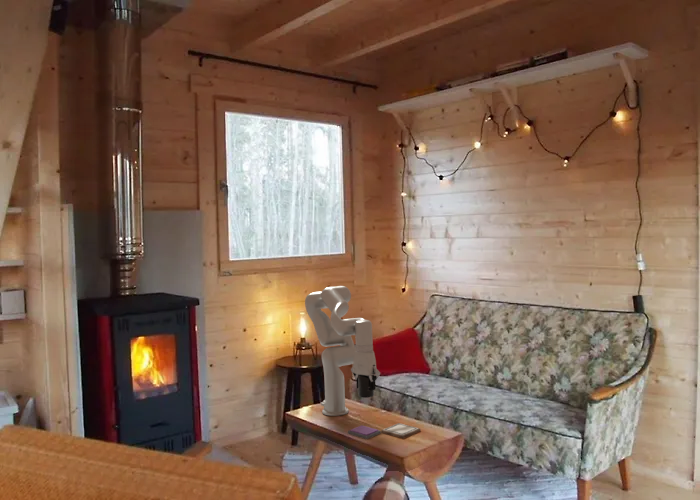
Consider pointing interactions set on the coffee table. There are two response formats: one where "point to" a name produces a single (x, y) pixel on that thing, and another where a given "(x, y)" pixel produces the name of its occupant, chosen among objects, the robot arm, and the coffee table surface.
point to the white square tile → (400, 430)
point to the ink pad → (364, 432)
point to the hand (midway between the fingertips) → (366, 388)
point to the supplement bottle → (364, 386)
